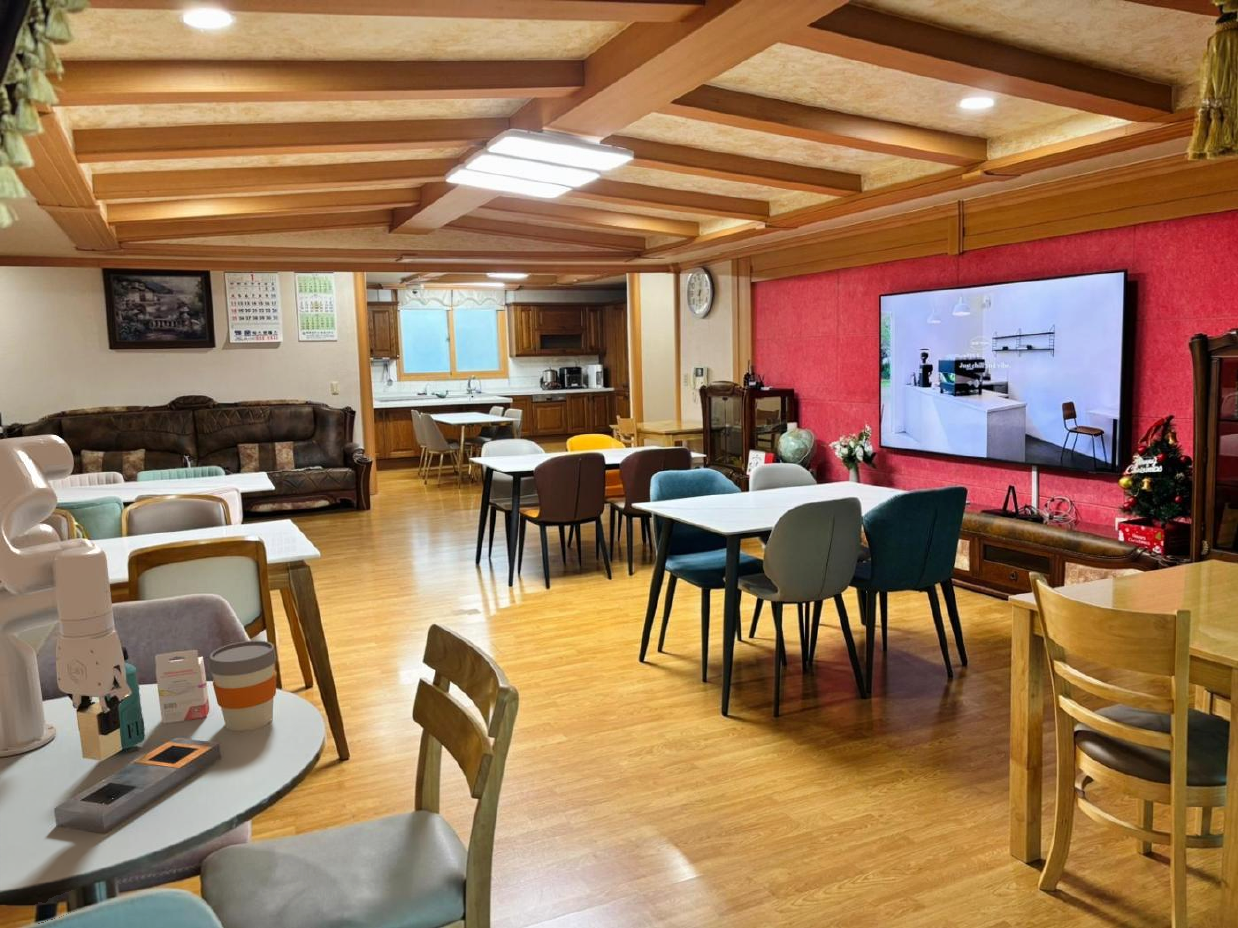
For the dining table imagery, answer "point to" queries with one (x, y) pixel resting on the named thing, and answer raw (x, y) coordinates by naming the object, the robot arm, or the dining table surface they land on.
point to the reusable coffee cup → (245, 683)
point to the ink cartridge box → (181, 686)
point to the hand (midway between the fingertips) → (99, 728)
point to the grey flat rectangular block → (137, 785)
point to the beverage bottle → (131, 709)
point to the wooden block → (96, 735)
